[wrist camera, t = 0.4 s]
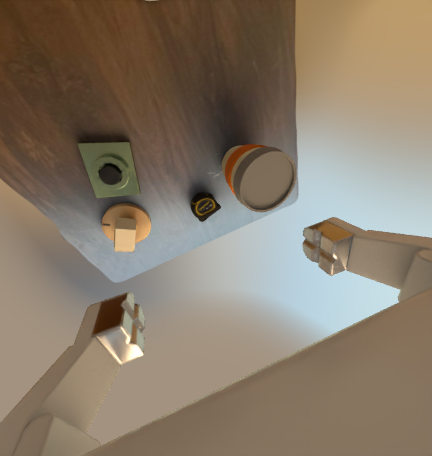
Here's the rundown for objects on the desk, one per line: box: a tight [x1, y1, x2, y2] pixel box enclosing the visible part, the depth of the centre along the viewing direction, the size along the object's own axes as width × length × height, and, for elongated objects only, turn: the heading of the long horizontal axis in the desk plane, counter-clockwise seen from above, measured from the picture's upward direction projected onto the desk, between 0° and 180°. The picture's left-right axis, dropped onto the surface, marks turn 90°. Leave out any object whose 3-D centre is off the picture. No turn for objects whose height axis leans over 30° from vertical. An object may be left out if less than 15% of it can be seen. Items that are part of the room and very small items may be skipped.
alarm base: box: [77, 141, 140, 198], centre depth 39 cm, size 11×9×4 cm
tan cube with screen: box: [114, 217, 138, 252], centre depth 44 cm, size 5×6×6 cm
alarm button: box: [99, 165, 121, 185], centre depth 37 cm, size 4×4×2 cm
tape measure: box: [191, 192, 221, 222], centre depth 50 cm, size 7×7×4 cm
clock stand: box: [102, 203, 151, 243], centre depth 47 cm, size 11×11×2 cm
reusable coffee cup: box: [222, 144, 296, 212], centre depth 42 cm, size 13×13×15 cm
